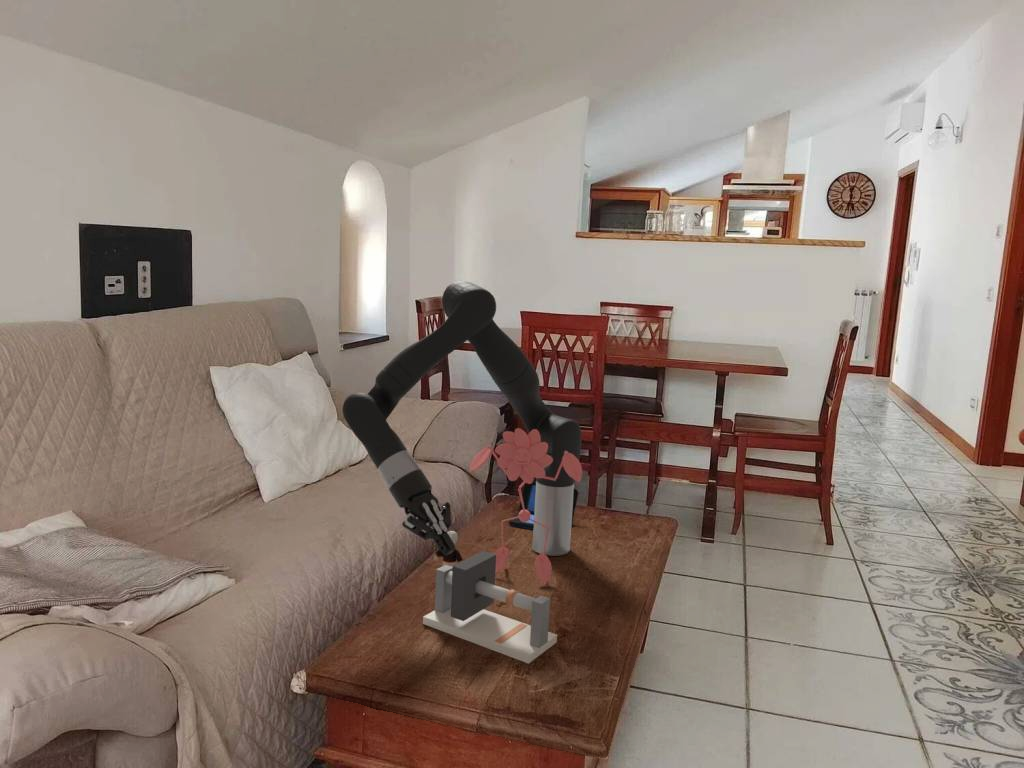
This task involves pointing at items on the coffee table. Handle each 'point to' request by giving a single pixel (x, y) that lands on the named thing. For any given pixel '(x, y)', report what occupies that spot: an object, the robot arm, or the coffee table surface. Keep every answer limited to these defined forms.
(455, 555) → the grandmother figurine
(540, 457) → the flower
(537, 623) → the pipe stand
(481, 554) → the grey plate with hole
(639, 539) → the coffee table surface
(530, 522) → the handheld game console
